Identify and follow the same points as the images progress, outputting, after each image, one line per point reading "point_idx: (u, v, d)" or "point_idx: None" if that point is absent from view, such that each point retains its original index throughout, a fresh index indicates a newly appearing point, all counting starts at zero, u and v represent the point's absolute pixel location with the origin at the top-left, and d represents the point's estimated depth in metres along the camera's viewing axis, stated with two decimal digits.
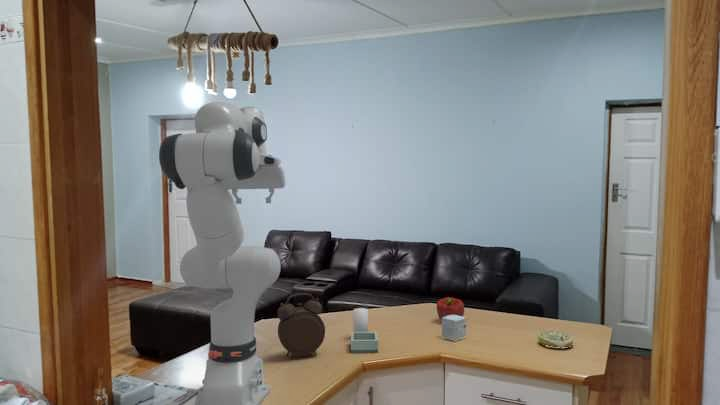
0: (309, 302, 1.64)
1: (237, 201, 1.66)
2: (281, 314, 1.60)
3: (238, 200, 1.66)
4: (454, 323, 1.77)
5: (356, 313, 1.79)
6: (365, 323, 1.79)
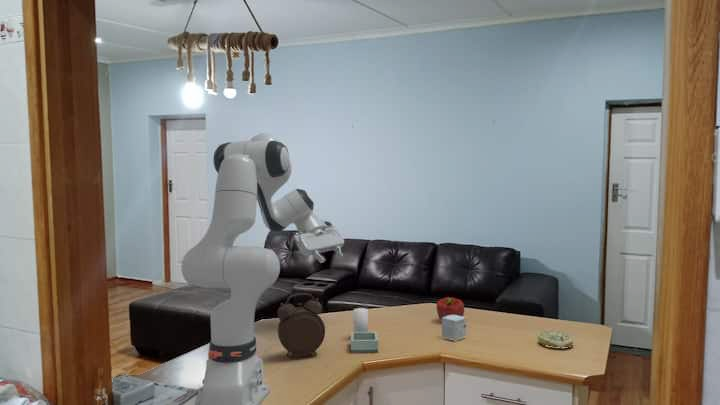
0: (309, 302, 1.64)
1: (323, 258, 1.83)
2: (281, 314, 1.60)
3: (323, 257, 1.84)
4: (454, 323, 1.77)
5: (356, 313, 1.79)
6: (365, 323, 1.79)
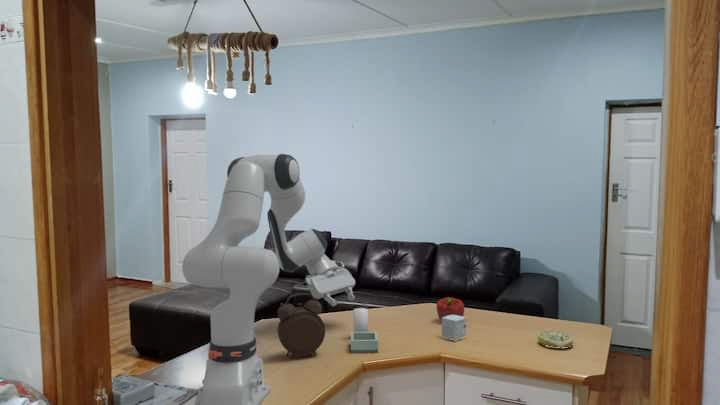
0: (309, 302, 1.64)
1: (335, 301, 1.81)
2: (281, 314, 1.60)
3: (335, 300, 1.82)
4: (454, 323, 1.77)
5: (356, 313, 1.79)
6: (365, 323, 1.79)
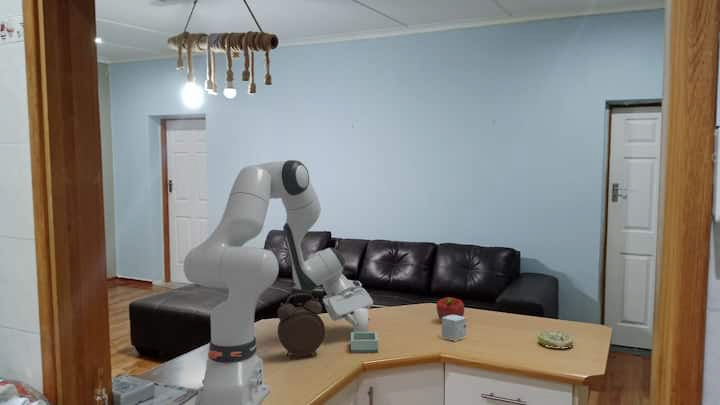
0: (309, 302, 1.64)
1: (356, 322, 1.78)
2: (281, 314, 1.60)
3: (356, 321, 1.78)
4: (454, 323, 1.77)
5: (356, 313, 1.79)
6: (365, 323, 1.79)
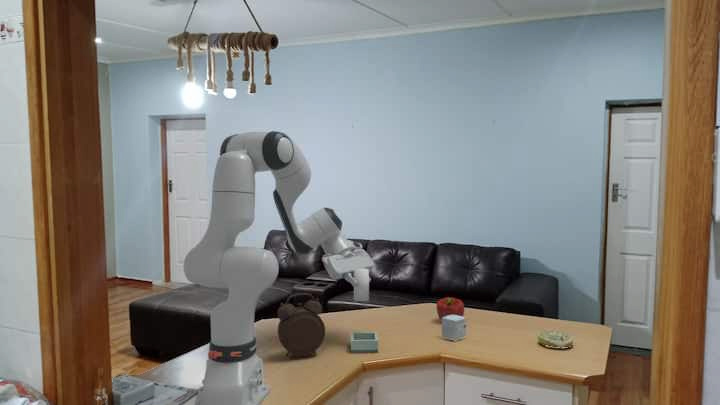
0: (309, 302, 1.64)
1: (356, 281, 1.71)
2: (281, 314, 1.60)
3: (356, 281, 1.72)
4: (454, 323, 1.77)
5: (356, 272, 1.72)
6: (366, 283, 1.73)
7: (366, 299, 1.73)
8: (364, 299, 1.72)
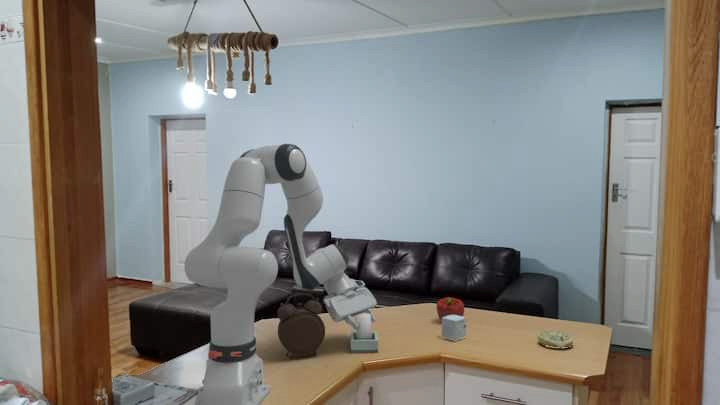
0: (309, 302, 1.64)
1: (357, 324, 1.67)
2: (281, 314, 1.60)
3: (357, 323, 1.68)
4: (454, 323, 1.77)
5: (358, 319, 1.69)
6: (369, 329, 1.69)
7: None
8: None
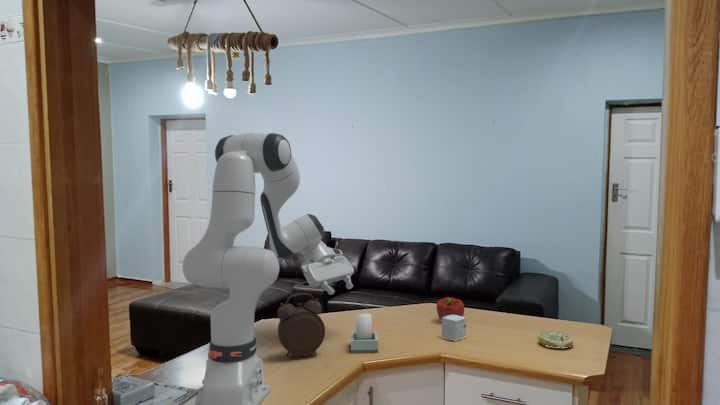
0: (309, 302, 1.64)
1: (332, 290, 1.72)
2: (281, 314, 1.60)
3: (332, 289, 1.73)
4: (454, 323, 1.77)
5: (359, 319, 1.69)
6: (369, 329, 1.69)
7: None
8: None
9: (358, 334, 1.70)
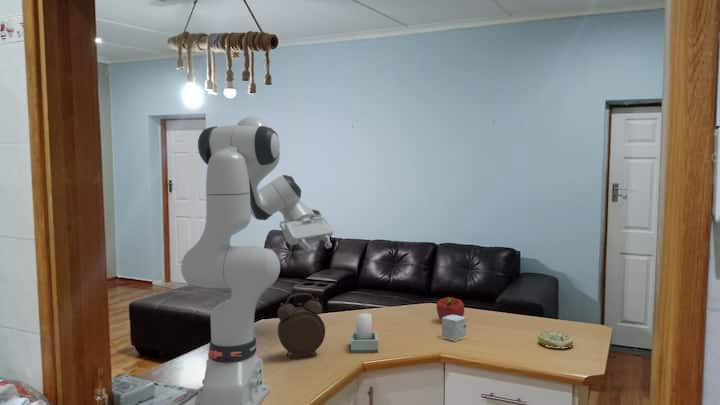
0: (309, 302, 1.64)
1: (310, 247, 1.75)
2: (281, 314, 1.60)
3: (310, 246, 1.75)
4: (454, 323, 1.77)
5: (359, 319, 1.69)
6: (369, 329, 1.69)
7: None
8: None
9: (358, 334, 1.70)
